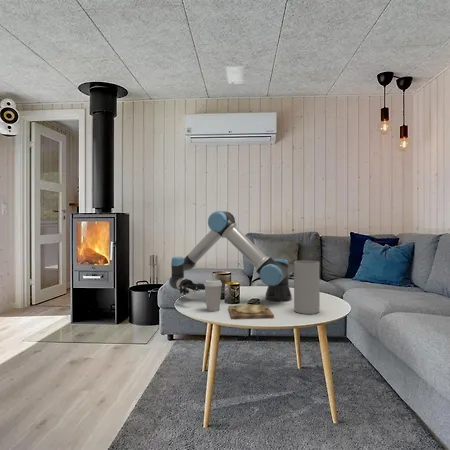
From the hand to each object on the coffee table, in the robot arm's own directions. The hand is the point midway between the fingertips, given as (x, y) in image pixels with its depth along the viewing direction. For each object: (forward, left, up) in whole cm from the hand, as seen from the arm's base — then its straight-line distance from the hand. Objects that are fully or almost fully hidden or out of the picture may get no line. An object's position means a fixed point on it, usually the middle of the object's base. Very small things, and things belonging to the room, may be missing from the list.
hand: (203, 291), depth 196 cm
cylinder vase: (-52, +15, -8) cm, 55 cm away
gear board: (-23, +16, -8) cm, 29 cm away
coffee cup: (-5, +8, -8) cm, 13 cm away
